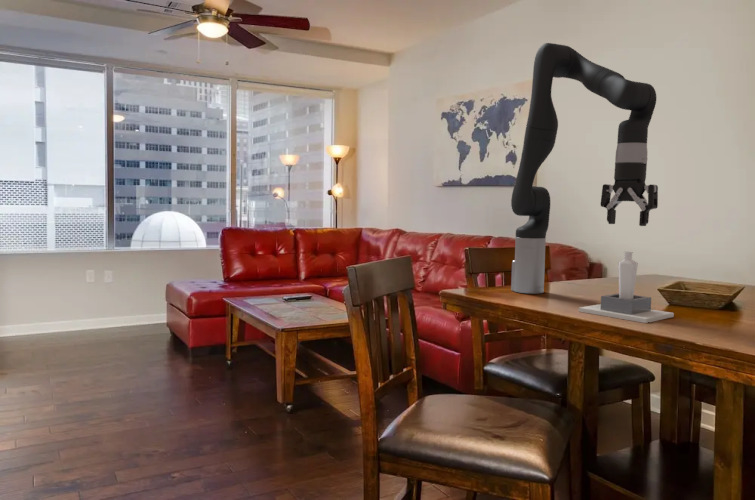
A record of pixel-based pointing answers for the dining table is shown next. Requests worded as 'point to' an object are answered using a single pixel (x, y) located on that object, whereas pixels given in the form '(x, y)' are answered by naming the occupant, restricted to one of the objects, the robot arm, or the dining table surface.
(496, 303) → the dining table surface
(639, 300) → the socket collar
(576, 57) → the robot arm
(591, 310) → the stand board
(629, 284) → the perfume bottle
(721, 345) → the dining table surface
